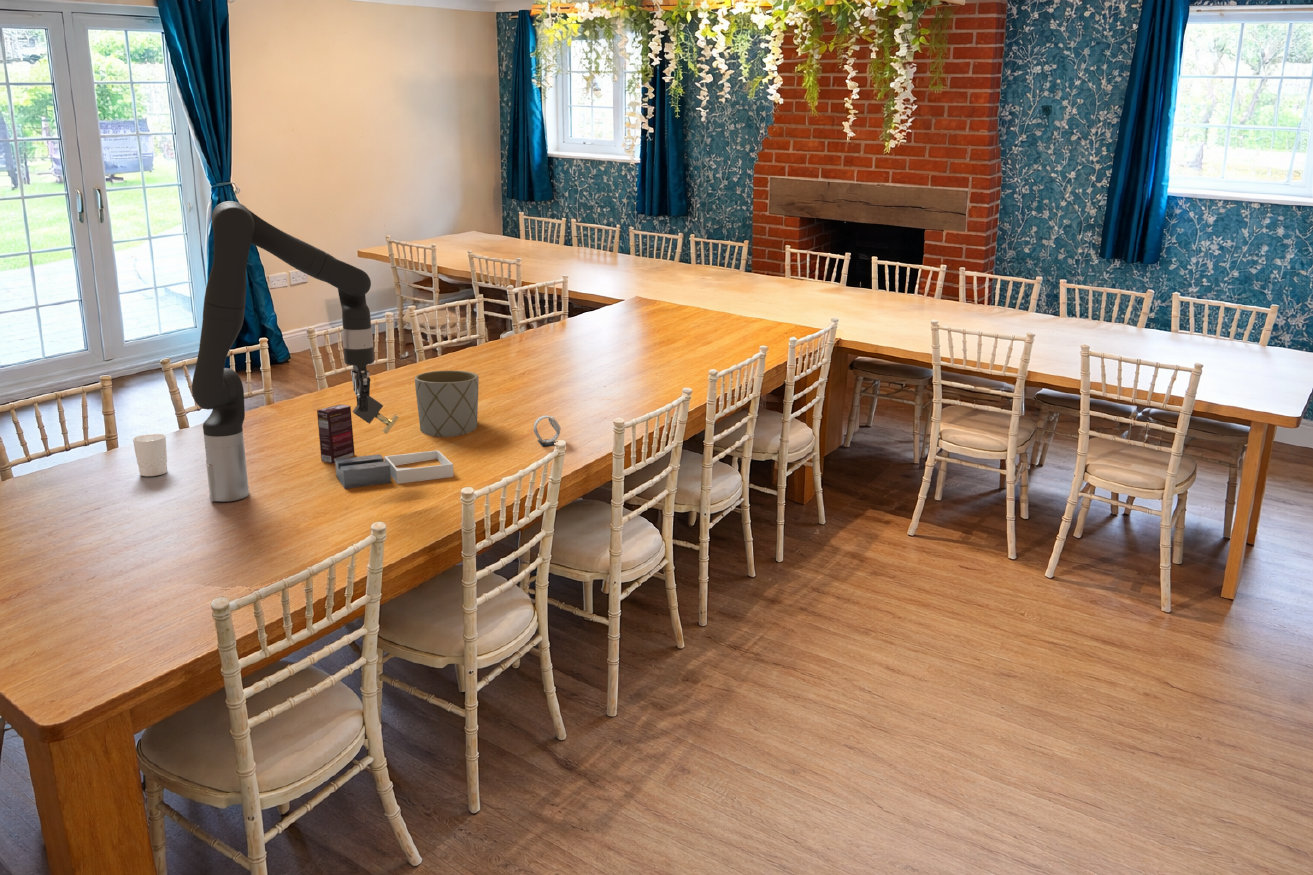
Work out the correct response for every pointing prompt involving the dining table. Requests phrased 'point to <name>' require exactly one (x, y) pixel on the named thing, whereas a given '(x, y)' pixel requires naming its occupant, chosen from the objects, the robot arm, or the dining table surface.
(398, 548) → the dining table surface
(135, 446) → the white cup
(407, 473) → the key tray
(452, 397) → the planter
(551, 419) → the watch
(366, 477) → the plate
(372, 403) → the t key
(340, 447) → the supplement box
